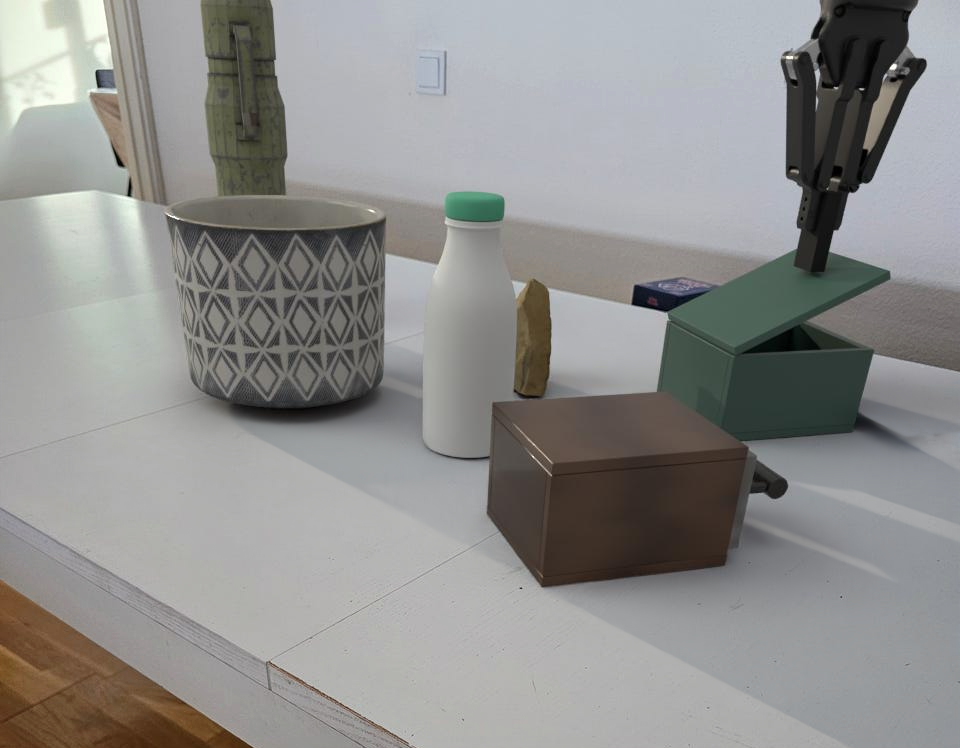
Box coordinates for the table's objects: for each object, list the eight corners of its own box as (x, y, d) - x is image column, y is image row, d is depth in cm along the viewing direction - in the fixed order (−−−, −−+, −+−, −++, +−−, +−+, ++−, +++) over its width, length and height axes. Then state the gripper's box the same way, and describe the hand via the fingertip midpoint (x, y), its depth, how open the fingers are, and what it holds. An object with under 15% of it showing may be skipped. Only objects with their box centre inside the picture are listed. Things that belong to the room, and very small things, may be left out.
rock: (573, 381, 91) (583, 341, 98) (524, 307, 87) (539, 271, 95) (485, 432, 96) (501, 391, 104) (435, 365, 92) (455, 326, 100)
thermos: (285, 300, 124) (264, -23, 105) (307, 322, 114) (288, -27, 96) (218, 303, 120) (182, -29, 102) (234, 326, 111) (199, -34, 92)
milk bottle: (521, 457, 80) (539, 201, 69) (434, 463, 78) (438, 201, 67) (495, 426, 86) (507, 187, 75) (413, 431, 84) (414, 186, 73)
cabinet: (649, 498, 74) (665, 390, 69) (725, 565, 64) (749, 447, 60) (486, 514, 70) (491, 401, 65) (541, 588, 61) (552, 463, 56)
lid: (806, 251, 91) (805, 243, 91) (891, 279, 81) (890, 270, 81) (668, 319, 91) (666, 311, 90) (736, 355, 81) (734, 347, 80)
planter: (269, 353, 102) (257, 188, 94) (422, 383, 96) (424, 209, 87) (144, 400, 88) (115, 210, 79) (315, 440, 81) (304, 237, 72)
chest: (778, 391, 99) (795, 315, 95) (852, 432, 89) (874, 349, 85) (655, 399, 95) (666, 320, 91) (718, 443, 85) (734, 356, 81)
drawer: (716, 484, 74) (732, 401, 70) (791, 542, 66) (813, 450, 62) (518, 503, 69) (524, 415, 66) (572, 567, 61) (582, 470, 57)
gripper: (915, -42, 77) (843, 259, 90) (780, -54, 74) (725, 261, 86) (981, -47, 71) (894, 276, 84) (838, -61, 68) (770, 279, 80)
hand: (808, 268), depth 85 cm, fingers closed
